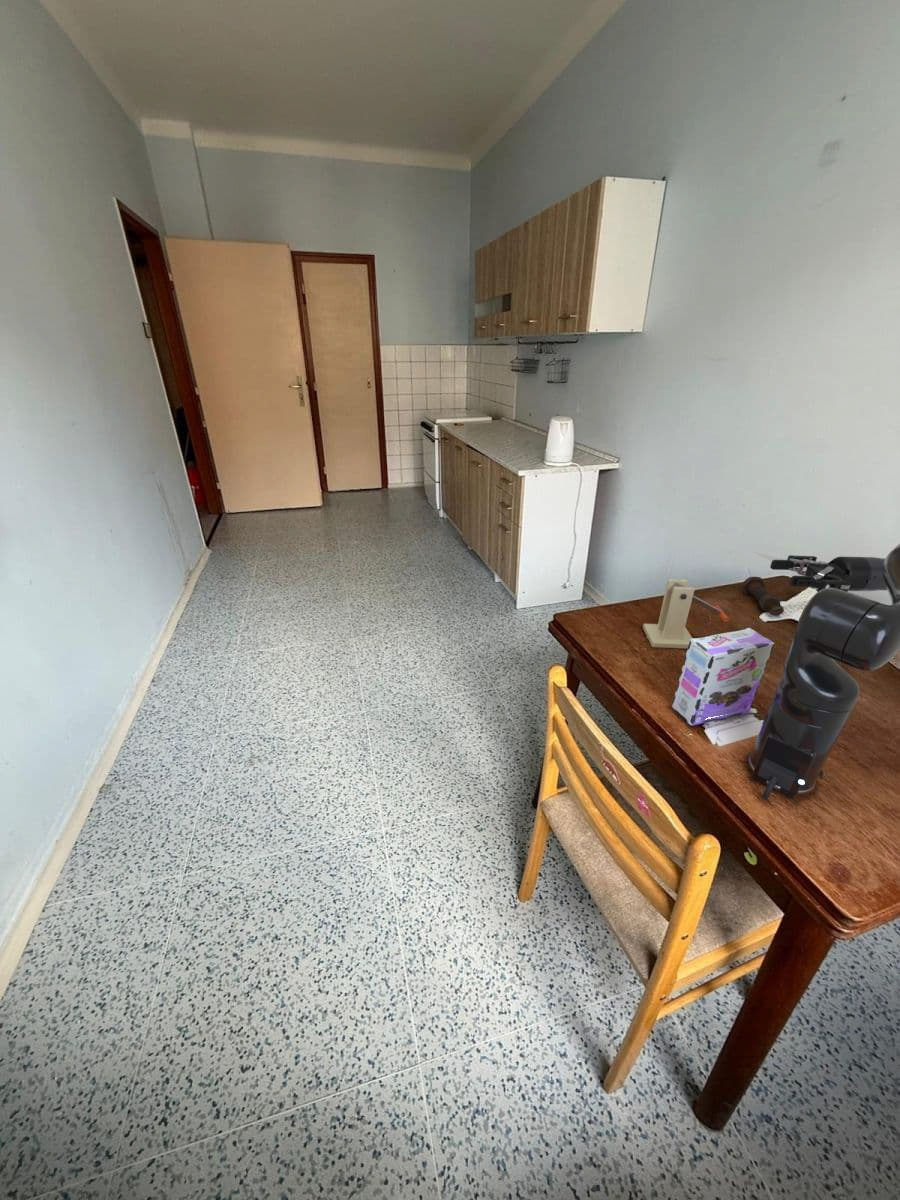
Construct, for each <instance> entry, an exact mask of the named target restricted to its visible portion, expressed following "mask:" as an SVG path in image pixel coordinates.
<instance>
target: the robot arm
mask: <svg viewBox="0 0 900 1200" xmlns="http://www.w3.org/2000/svg"><path fill="white" fill-rule="evenodd" d="M817 559H818V557H817V556H814V555H793V554H791V555H788V556H787V559H772V561H771V562H770V566H769V568H770V569H771V570H773V571H777V570H778V571H779V570H780V571H793V572H797V574H798V575H793V576H791V577H790V580H789V585H790V586H791V587H808V588H810V589H817V590H816V593H814V595H812V597H810V599H809V600H808V602H807V603H806V605H805V606H804V608H803V610H802V612H801V614H800V617H799V619H798V621H797V624H796V627H795V631H794V634H793V637H792V641H791V644H790V648H789V651H788V653H787V655H786V656H787V657H786V659H785V662H784V665H783V668H782V674H781V676H780V679H779V682H778V684H777V687H776V690H775V692H774V695H773V697H772V699H771V702H770V704H769V706H768V709H767V712H766V715H765V717H764V720H763V723H762V725H761V727H760V730H759V732H758V735H757V737H756V739H755V741H754V746H753V748H752V750H751V751H750V753H749V756H748V759H747V765H748V769H749V770H750V772H751V779H753V780H755V781H757V782H759V783H761V784H763V785H765V786H766V787H765V789H764V791H763V793H762V795H761V798H762V800H764V801H768V800H769V798H770V796H771V794H772V792H773V790H774V791H776V792H778V793H780V794H782V795H784V796H785V797H788V798H789V799H791V800H795V799H796V797H798V796H805V795H808V794H810V793H811V792H813V790H814V788H815V787H816V784H817V780H818V778H819V779H820V780H822V778H823V776H824V773H825V772H824V771H823V769H824V767H825V765H826V763H827V760H828V758H829V757H830V755H831V753H832V750H833V749H834V747H835V744H836V743H837V741H838V739H839V737H840V735H841V733H842V731H843V729H844V727H845V725H846V723H847V721H848V719H849V718H850V715H851V714H852V711H853V709H854V707H855V706H856V704H857V702H858V700H859V697H860V691H861V690H860V686H859V684H858V682H857V681H856V680H855V678H854V677H852V676H851V675H850V674H849V672H848V671H846V670H845V669H844V668H843V667H841V666H840V665H839V664H838V663H840V664H844V665H846V666H848V667H850V668H854V669H856V670H860V671H863V672H873V671H876V670H878V669H880V668H881V667H883V666H885V665H886V664H887V663H889V662H890V661H891V660H892V659H893V658H894V657H895V656H896V654H897V653H898V652H900V543H898V544H897V545H896V546H895V547H894V548H892V549H891V550H890V551H889V552H888V554H887V555H886V556H885V557H884V558H883V557H877V556H876V557H875V556H837V557H834V558H832V560H830V561H828V562H825V561H821V560H819V561H817ZM804 569H806V570H804ZM827 586H828V587H827ZM879 591H887V593H888V595H889V597H890V600H891V604H886V603H882V602H879V601H876V600H873V599H869V598H866V597H865V596H864V597H863V596H860V595H858V594H855V593H852V592H879ZM836 661H837V662H836Z"/></svg>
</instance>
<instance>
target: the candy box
mask: <svg viewBox="0 0 900 1200" xmlns="http://www.w3.org/2000/svg"><path fill="white" fill-rule="evenodd" d="M692 638H693V639H690V642H689V646H688V649H687V650H686V653H685V656H684V661H683V664H682V668H681V671H680V675H679V679H678V682H677V686H676V689H675V691H674V692H675V693H674V696H673V700H672V702H671V708H672V709H673V710H674V711H675V712H676V713H677V714H678V715H679V716H680V717H681V718H682V719H683V720H684V721H685V722H686V723H687V724H689V725H690V726H691V727H693V726H696V725H701V724H705V723H709V722H714V721H717V720H722V719H726V718H731V717H735V716H738V715H743V714H747V713H750V711H751V709H752V706H753V703H754V700H755V698H756V695H757V694H758V693H757V692H758V690H759V687H760V684H761V681H762V679H763V676H764V673H765V670H766V667H767V665H768V662H769V659H770V656H771V654H772V651H773V648H774V646H775V642H773V641H772V640H770V639H769V638H767V637H765V636H764V635H762V634H760V632H758V631H756V630H754V629H752V628H751V627H746V628H744V629H739V630H733V631H729V632H728V631H727V632H722V633H717V634H712V635H706V636H701V637H697V638H695V637H692ZM726 714H727V715H726ZM720 715H723V716H720ZM714 716H719V717H715V718H711V719H707V720H705V719H706V718H708V717H714Z"/></svg>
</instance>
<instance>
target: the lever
mask: <svg viewBox="0 0 900 1200" xmlns="http://www.w3.org/2000/svg"><path fill="white" fill-rule="evenodd" d="M673 587H684V586H683V585H681V584H679V583H677V582H676V583H675V585H674V586H673ZM673 587H672V588H671V589H670V591H671V593H672V591H673ZM692 602H694V603H696V604H697V605H699V606H701V607H703V608H705V610H708V611H710V612H713V614H716V615H717V616H719V617H720V619H721V620H722V621H723V622H724V623H728V622H729V620H730V618H729V617H728V616H727V615H726V613H725V612H724V611H723V610H722V608H721V607H720V606H719V605H717V604H716V605H713V604H710V603H708V602H706V601H705V600H702V599H701V598H699V597H697V596H695V595H693V598H692Z"/></svg>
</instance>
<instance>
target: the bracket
mask: <svg viewBox="0 0 900 1200" xmlns="http://www.w3.org/2000/svg"><path fill="white" fill-rule="evenodd" d="M676 582H677V583H679V584H681V585H683V586H684V587H673V586H674V585H675V583H676ZM672 587H673V591H672V593H671V591H670V589H671V588H672ZM695 590H696V589H695V588H694V587H693V586H689V580H688V579H677V578H676V579H675V578H668V579H667V581H666V587H665V590H664V596H663V599H662V605H661V609H660V614H659V618H658V622H657V623H642V630H643V631H644V633H645V635H646V638H647V639H648V641H649V644H650V645H651V647H652V648H662V649H663V648H664V649H665V648H666V649H688V646H689V642H690V639H693V638H694V637H693V636H692V635H691V632H689V630H688V629H687V627H686V625H687V621H688V617H689V613H690V609H691V605H692V602H693V601H692V598H693V596H694V594H695Z"/></svg>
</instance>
